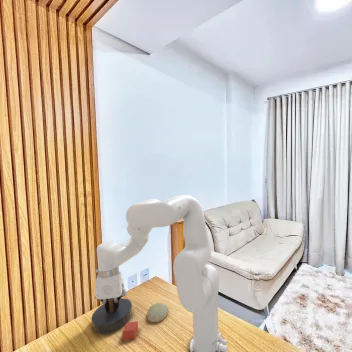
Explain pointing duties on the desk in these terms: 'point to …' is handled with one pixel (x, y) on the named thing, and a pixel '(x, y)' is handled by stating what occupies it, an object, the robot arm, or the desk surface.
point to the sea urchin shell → (157, 312)
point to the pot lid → (111, 312)
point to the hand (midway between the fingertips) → (112, 309)
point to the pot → (112, 325)
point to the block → (130, 330)
